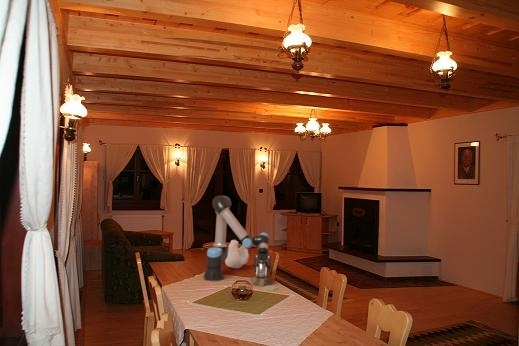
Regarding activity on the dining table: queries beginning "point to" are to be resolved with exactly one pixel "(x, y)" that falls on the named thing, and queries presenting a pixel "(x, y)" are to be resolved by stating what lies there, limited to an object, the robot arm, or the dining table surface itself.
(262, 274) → the silver metallic cylinder
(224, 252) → the robot arm
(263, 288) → the mat
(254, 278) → the collar
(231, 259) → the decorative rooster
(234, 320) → the dining table surface
